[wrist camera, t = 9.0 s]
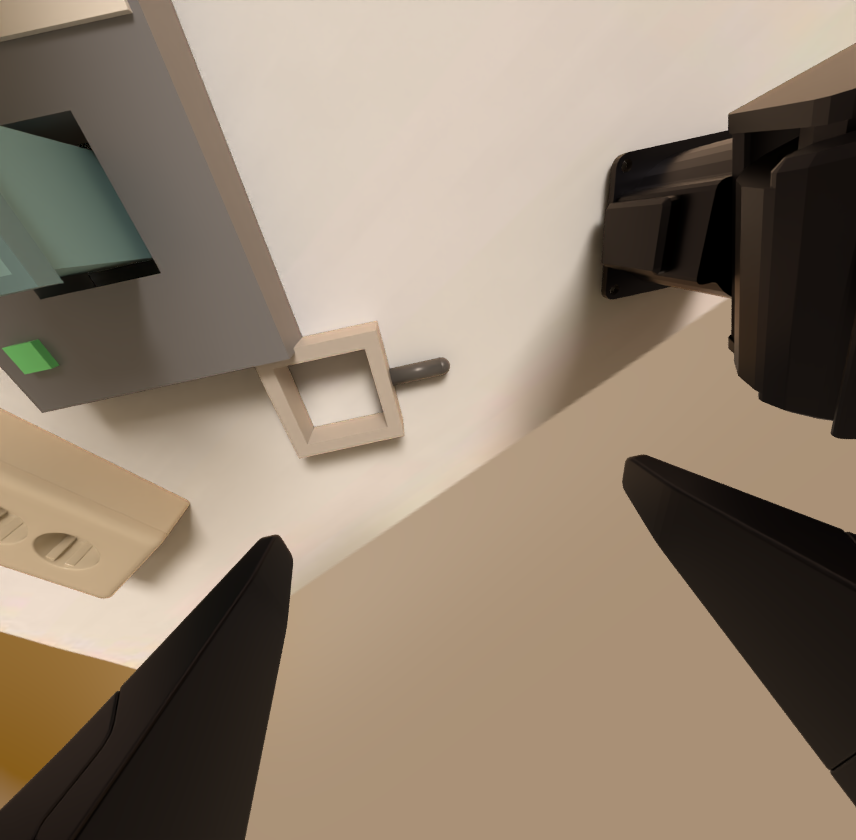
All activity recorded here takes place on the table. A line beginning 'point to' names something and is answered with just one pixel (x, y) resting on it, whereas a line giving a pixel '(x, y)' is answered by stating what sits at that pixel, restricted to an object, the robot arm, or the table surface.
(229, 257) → the port panel
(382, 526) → the table surface
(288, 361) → the beige frame with handle
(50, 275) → the plug
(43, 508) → the electrical outlet
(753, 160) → the robot arm
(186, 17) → the table surface
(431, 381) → the table surface
